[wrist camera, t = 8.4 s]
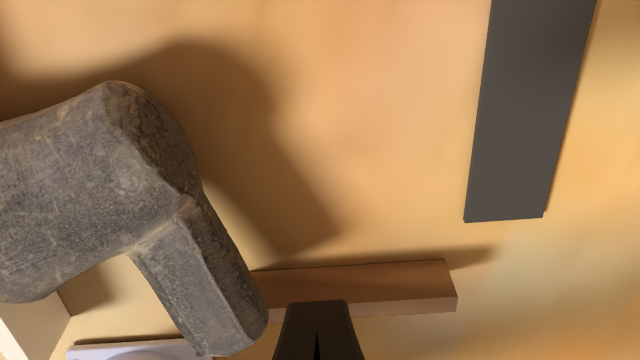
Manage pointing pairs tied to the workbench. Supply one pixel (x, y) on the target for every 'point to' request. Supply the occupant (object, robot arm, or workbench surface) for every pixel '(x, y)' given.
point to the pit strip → (524, 104)
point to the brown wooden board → (362, 288)
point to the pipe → (121, 213)
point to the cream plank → (32, 328)
